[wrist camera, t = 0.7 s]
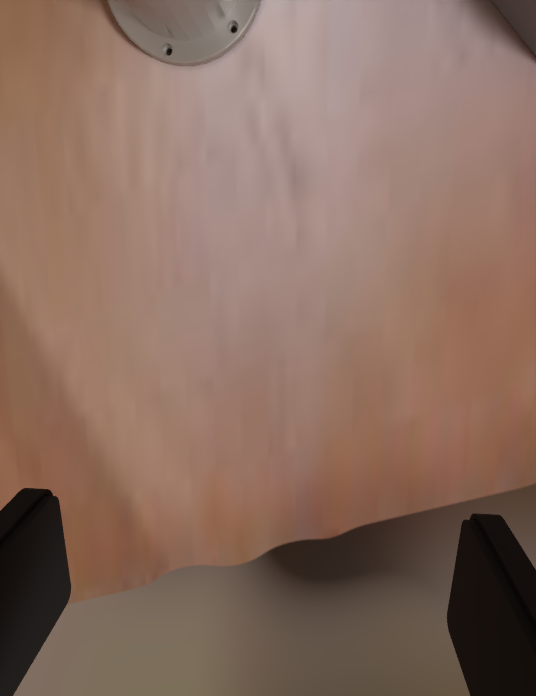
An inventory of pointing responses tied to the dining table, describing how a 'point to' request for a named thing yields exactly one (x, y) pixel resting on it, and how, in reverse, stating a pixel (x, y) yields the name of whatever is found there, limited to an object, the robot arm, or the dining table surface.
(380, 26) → the dining table surface
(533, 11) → the switch box
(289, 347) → the dining table surface
